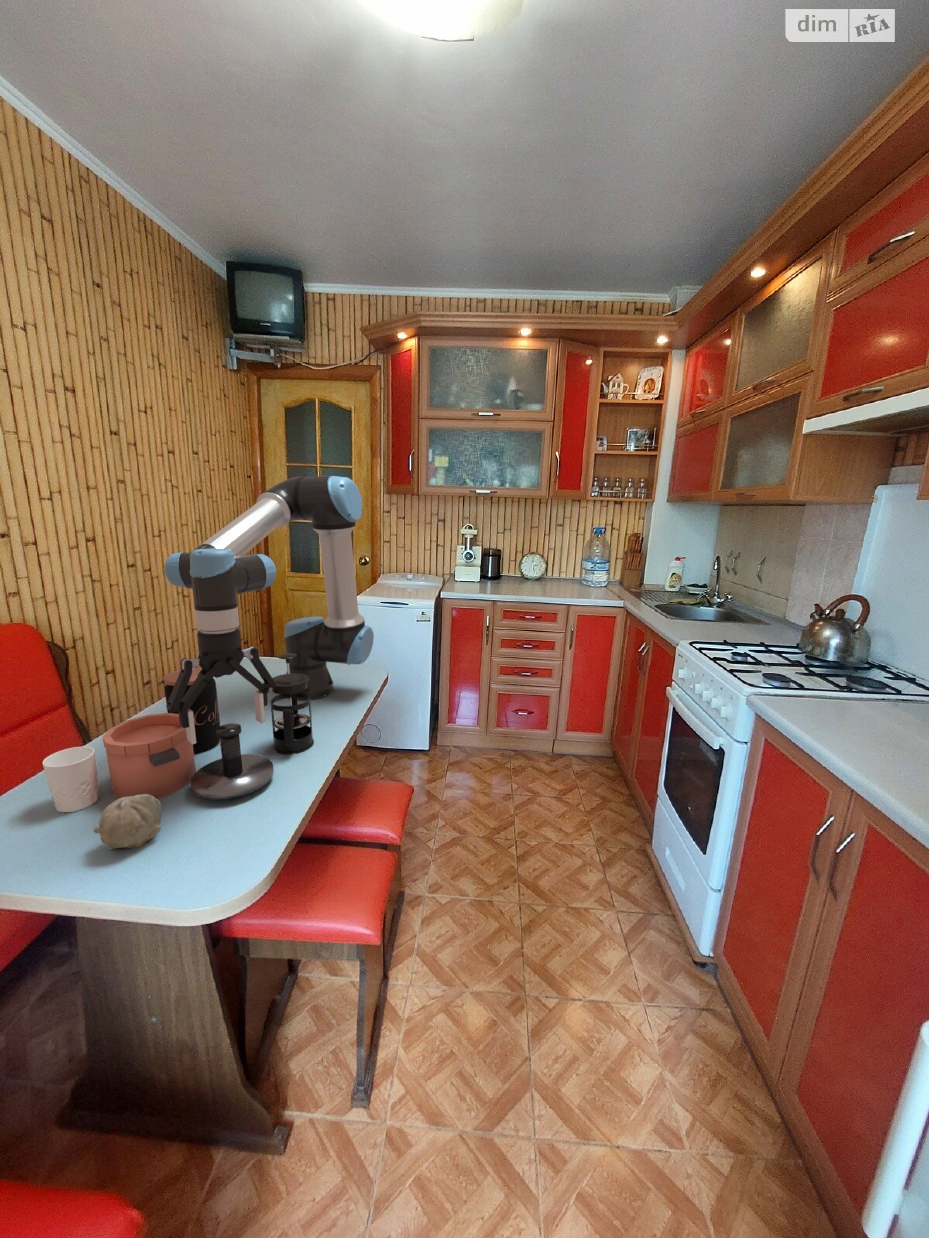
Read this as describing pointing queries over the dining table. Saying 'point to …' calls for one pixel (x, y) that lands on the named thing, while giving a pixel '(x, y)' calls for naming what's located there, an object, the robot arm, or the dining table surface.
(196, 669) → the coffee jar
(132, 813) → the garlic bulb
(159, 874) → the dining table surface
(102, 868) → the dining table surface
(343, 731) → the dining table surface
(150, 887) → the dining table surface
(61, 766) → the white cup
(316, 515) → the robot arm
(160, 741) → the pot
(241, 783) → the lid
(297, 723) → the french press
